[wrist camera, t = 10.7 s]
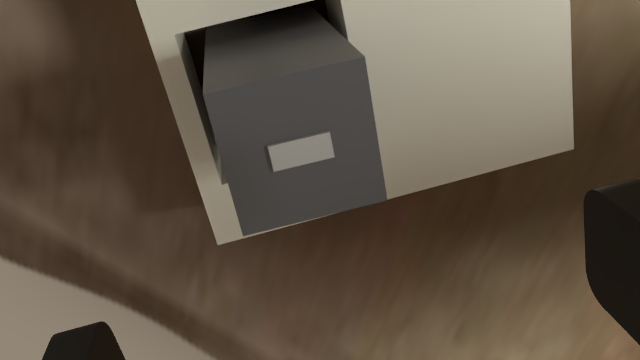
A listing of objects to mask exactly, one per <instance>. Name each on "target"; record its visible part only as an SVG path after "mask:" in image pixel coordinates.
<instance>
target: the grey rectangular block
mask: <svg viewBox="0 0 640 360" xmlns="http://www.w3.org/2000/svg"><path fill="white" fill-rule="evenodd" d="M203 97H204V101H205V104H206V108H207V111H208V115H209V118H210V122H211V125H212V129H213V132H214V136H215V140H216V143H217V147H218V150H219V154H220V157H221V161H222V164H223V168H224V171H225V175H226V178H227V182H228V185H229V189H230V192H231V196H232V199H233V203H234V207H235V210H236V214H237V217H238V221H239V224H240V228H241V231H242V235H243V236H246V235H250V234H254V233H259V232H263V231H267V230H271V229H275V228H279V227H283V226H287V225H291V224H295V223H299V222H303V221H307V220H311V219H315V218H319V217H323V216H327V215H331V214H335V213H339V212H343V211H347V210H351V209H355V208H359V207H363V206H367V205H371V204H375V203H379V202H383V201H387V194H386V187H385V181H384V175H383V168H382V162H381V156H380V149H379V143H378V136H377V130H376V124H375V117H374V111H373V105H372V98H371V92H370V85H369V79H368V73H367V66H366V60H365V56H364V55H363V54H362V53H361V52H359V51H358V50H357V49H356V48H355V47H354V46H353V45H352V44H351V43H350V42H349V41H348V40H347V39H346V38H344V37H343V36H342V35H341V34H340V33H339V32H338V31H337V30H336V29H335V28H334V27H333V26H332V25H330V24H329V23H328V22H327V21H326V20H325V19H324V18H323V17H322V16H321V15H320V14H319V13H318V12H316V11H315V10H314V9H313V8H312V7H311V6H305V7H301V8H296V9H292V10H287V11H283V12H278V13H274V14H269V15H265V16H260V17H256V18H251V19H247V20H242V21H238V22H233V23H229V24H224V25H220V26H215V27H211V28H206V36H205V55H204V75H203Z"/></svg>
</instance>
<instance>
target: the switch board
mask: <svg viewBox="0 0 640 360" xmlns="http://www.w3.org/2000/svg"><path fill="white" fill-rule="evenodd" d="M309 1H313V0H136V3H137V6H138V9H139V12H140V15H141V18H142V21H143V24H144V27H145V30H146V33H147V36H148V39H149V42H150V45H151V48H152V51H153V54H154V57H155V60H156V63H157V66H158V69H159V72H160V75H161V78H162V81H163V84H164V87H165V89H166V92H167V95H168V98H169V101H170V104H171V107H172V110H173V113H174V116H175V119H176V122H177V125H178V128H179V131H180V134H181V137H182V140H183V143H184V146H185V149H186V152H187V155H188V158H189V161H190V164H191V167H192V170H193V173H194V176H195V179H196V182H197V185H198V188H199V191H200V194H201V197H202V200H203V203H204V206H205V209H206V212H207V215H208V218H209V221H210V224H211V227H212V230H213V233H214V236H215V238H216V241H217V244H218V245H221V244H224V243H228V242H232V241H236V240H239V239H243V238H247V237H250V236H254V235H258V234H262V233H265V232H269V231H273V230H276V229H280V228H284V227H287V226H291V225H295V224H299V223H302V222H299V223H295V224H291V225H287V226H283V227H279V228H275V229H271V230H267V231H263V232H259V233H254V234H250V235H246V236H243V235H242V231H241V228H240V224H239V221H238V217H237V214H236V210H235V207H234V203H233V199H232V196H231V192H230V189H229V185H228V182H227V178H226V175H225V171H224V168H223V164H222V161H221V157H220V154H219V150H218V147H217V143H216V140H215V136H214V132H213V129H212V125H211V122H210V118H209V115H208V111H207V108H206V104H205V101H204V97H203V92H202V89H201V86H200V83H199V79H198V76H197V73H196V70H195V66H194V63H193V60H192V57H191V53H190V50H189V47H188V44H187V40H186V37H185V34H184V32H187V31H191V30H195V29H199V28H203V27H207V26H211V25H215V24H219V23H223V22H227V21H231V20H236V19H240V18H244V17H248V16H252V15H256V14H260V13H264V12H268V11H272V10H276V9H280V8H284V7H288V6H292V5H296V4H300V3H305V2H309ZM325 4H326V9H327V14H328V18H329V23H330V25H332V26H333V27H334V28H335V29H336V30H337V31H338V32H339V33H340V34H341V35H342V36H343V37H344V38H346V39H347V40H348V41H349V42H350V43H351V44H352V45H353V46H354V47H355V48H356V49H357V50H358V51H359V52H361V53H362V54H363V55H364V56H365V60H366V66H367V73H368V79H369V85H370V92H371V98H372V105H373V111H374V117H375V124H376V130H377V136H378V143H379V149H380V156H381V162H382V168H383V175H384V181H385V187H386V194H387V199H391V198H395V197H399V196H402V195H406V194H410V193H413V192H417V191H421V190H424V189H428V188H432V187H436V186H439V185H443V184H447V183H450V182H454V181H458V180H462V179H465V178H469V177H473V176H476V175H480V174H484V173H487V172H491V171H495V170H499V169H502V168H506V167H510V166H513V165H517V164H521V163H524V162H528V161H532V160H536V159H539V158H543V157H547V156H550V155H554V154H558V153H561V152H565V151H569V150H573V149H574V130H573V93H572V55H571V17H570V0H325ZM335 214H336V213H335ZM331 215H332V214H331ZM327 216H328V215H327ZM323 217H324V216H323ZM319 218H321V217H319ZM315 219H317V218H315ZM311 220H313V219H311ZM307 221H310V220H307ZM303 222H306V221H303Z"/></svg>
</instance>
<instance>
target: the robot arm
mask: <svg viewBox="0 0 640 360" xmlns="http://www.w3.org/2000/svg"><path fill="white" fill-rule="evenodd" d="M584 230H585V259H586V273H587V278H588V281H589V284H590V287H591V289H592V292H593V294H594V296H595V297H596V299H597V300H598V302H599V303H600V304H601V306H602V307H603V308H604V309H605V310H606V311H607V312H608V313H609V314H610V315H611V316H612V317H613V318H614V319H615V320H616V321H617V322H618V323H619V324H620V325H621V326H622V327H623V328H624V329H625V330H626V331H627V333H628V334H629V335H630V336H631V337H632V338H633V339H634V340H635V341H636V342H637V343H638V344H639V345H640V180H639V179H630V180H626V181H623V182H619V183H615V184H612V185H608V186H604V187H600V188H597V189H593V190H590V191H588V192H587V194H586V195H585V198H584ZM42 360H125V358H124V356H123V353H122V351H121V349H120V347H119V345H118V343H117V341H116V338H115V336H114V334H113V332H112V330H111V329H110V327H109V326H108V325H107V324H106V323H105V322H97V323H94V324H90V325H87V326H83V327H79V328H75V329H72V330H68V331H64V332H61V333H57V334H55V335H53V337H52V338H51V340H50V342H49V344H48V347H47V349H46V351H45V354H44V356H43V359H42Z"/></svg>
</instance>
